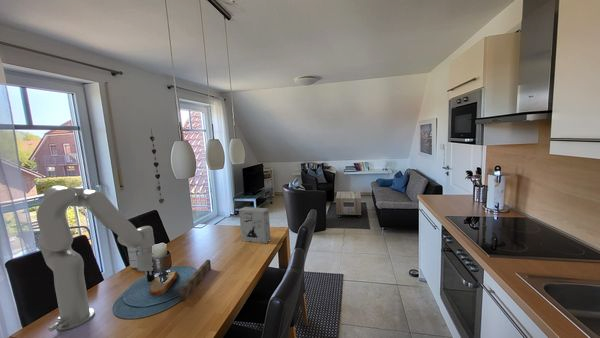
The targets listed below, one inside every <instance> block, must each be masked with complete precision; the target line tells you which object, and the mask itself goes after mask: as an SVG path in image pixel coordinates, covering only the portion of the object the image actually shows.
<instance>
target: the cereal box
mask: <svg viewBox="0 0 600 338" xmlns="http://www.w3.org/2000/svg"><path fill="white" fill-rule="evenodd" d="M238 211H239V212H238V214H239V226H240V235H241V237H240V238H241V241H242V240H244V241H243V242H246V241H252V242H251V243H254V242H260V243H259V244H261V243H266V244H268V243H269V242H270V241H271V240H270V239H271V228H270V227H271V226H270V225H271V224H270V209H269V208H267V207H265V208H264V207H252V206H250V207H249V206H244V207H242V208H240V209H238ZM269 240H270V241H269ZM268 241H269V242H268ZM267 242H268V243H267Z"/></svg>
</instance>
